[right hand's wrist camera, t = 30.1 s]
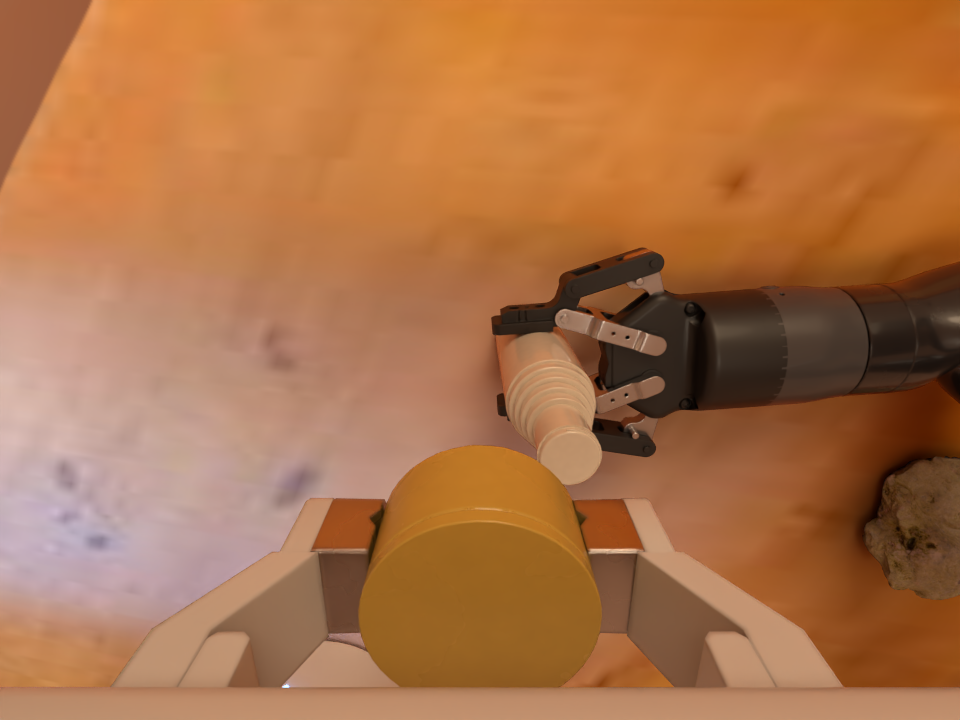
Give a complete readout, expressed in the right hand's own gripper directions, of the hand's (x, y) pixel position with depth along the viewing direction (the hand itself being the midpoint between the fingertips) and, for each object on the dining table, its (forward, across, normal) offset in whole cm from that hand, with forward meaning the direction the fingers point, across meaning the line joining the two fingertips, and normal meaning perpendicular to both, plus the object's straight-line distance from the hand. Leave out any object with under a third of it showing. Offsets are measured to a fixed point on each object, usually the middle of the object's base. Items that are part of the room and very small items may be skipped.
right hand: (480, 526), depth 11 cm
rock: (+30, +37, -21) cm, 52 cm away
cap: (-2, 0, 0) cm, 2 cm away
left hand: (+23, +1, -6) cm, 24 cm away
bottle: (+30, +4, -5) cm, 30 cm away
